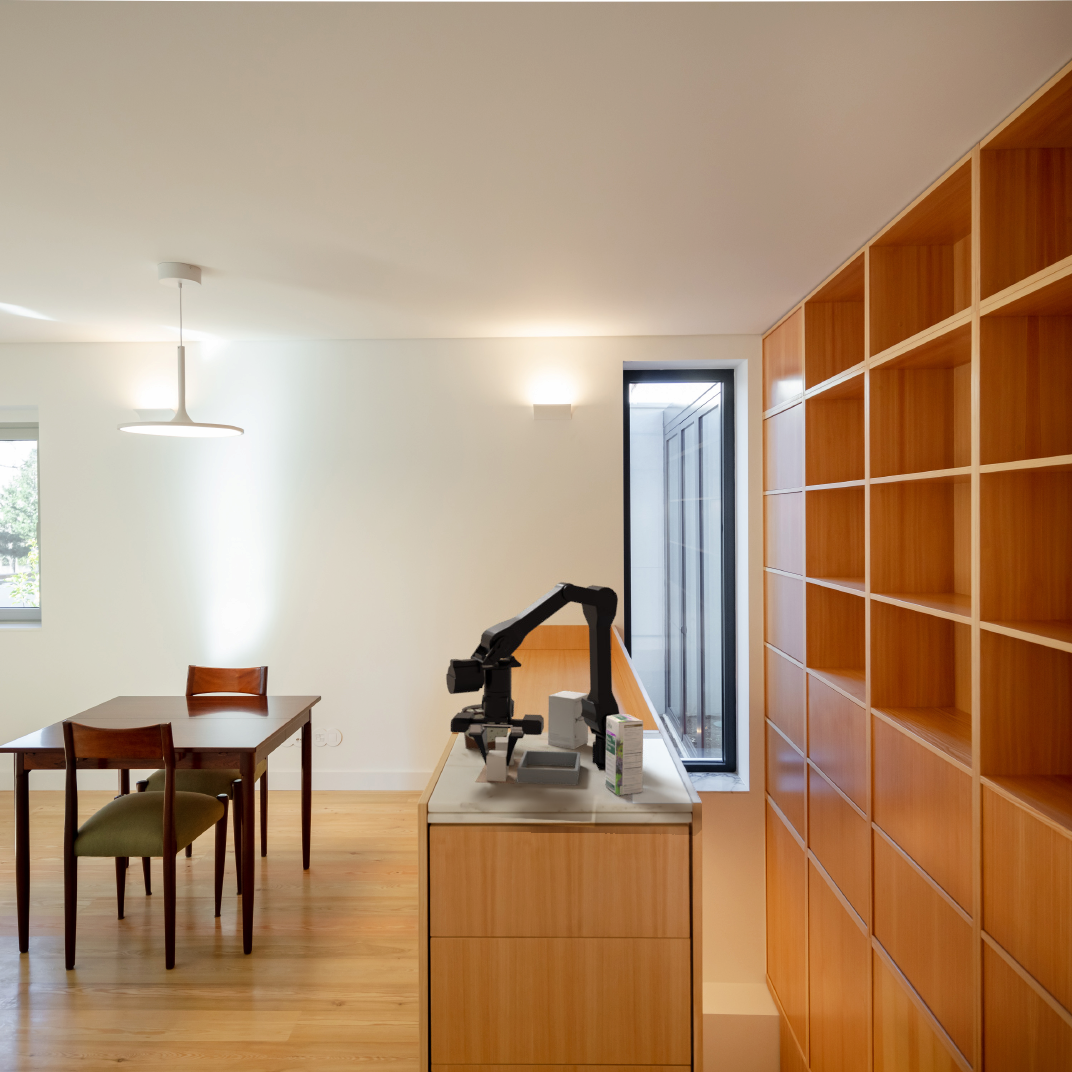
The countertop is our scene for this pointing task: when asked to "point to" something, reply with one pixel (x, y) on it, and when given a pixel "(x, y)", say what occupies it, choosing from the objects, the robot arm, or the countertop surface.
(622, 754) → the syrup box
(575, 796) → the countertop surface
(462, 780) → the countertop surface
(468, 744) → the food container
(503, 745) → the cream white block
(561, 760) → the bin
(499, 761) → the stone
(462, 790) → the countertop surface
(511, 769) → the brown rectangular board
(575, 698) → the supplement box
